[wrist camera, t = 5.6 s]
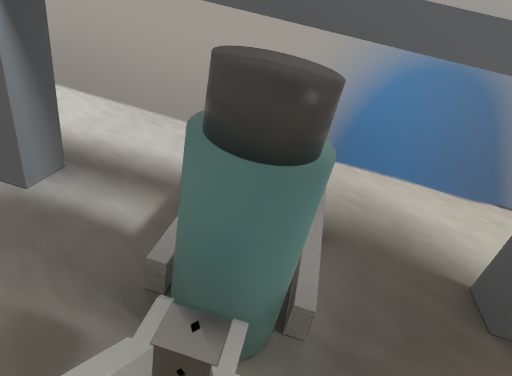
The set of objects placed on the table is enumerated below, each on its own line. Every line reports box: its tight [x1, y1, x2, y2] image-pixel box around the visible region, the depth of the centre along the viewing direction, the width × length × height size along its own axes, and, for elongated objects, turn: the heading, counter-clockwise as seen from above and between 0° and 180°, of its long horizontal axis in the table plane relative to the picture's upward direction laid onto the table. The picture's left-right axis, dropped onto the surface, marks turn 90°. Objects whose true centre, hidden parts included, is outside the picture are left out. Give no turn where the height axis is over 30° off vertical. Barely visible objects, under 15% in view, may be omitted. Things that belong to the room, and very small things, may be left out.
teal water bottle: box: [170, 46, 345, 362], centre depth 15 cm, size 6×6×14 cm
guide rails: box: [145, 188, 326, 340], centre depth 24 cm, size 10×14×2 cm
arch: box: [0, 0, 512, 340], centre depth 21 cm, size 39×4×17 cm, turn 77°
